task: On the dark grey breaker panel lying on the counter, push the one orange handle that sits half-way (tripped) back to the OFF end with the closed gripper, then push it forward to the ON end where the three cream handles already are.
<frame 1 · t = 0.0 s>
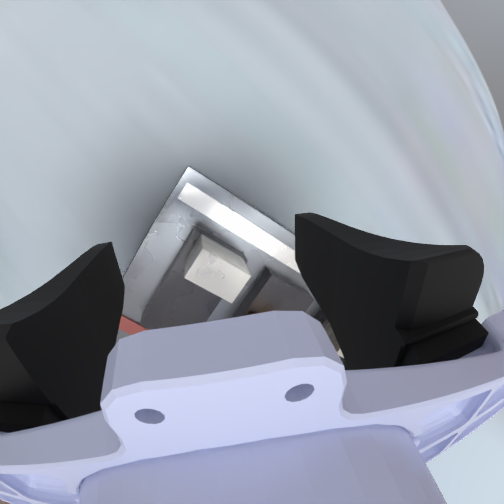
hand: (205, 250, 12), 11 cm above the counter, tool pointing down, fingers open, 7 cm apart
breaker panel: (260, 339, 26), on the counter
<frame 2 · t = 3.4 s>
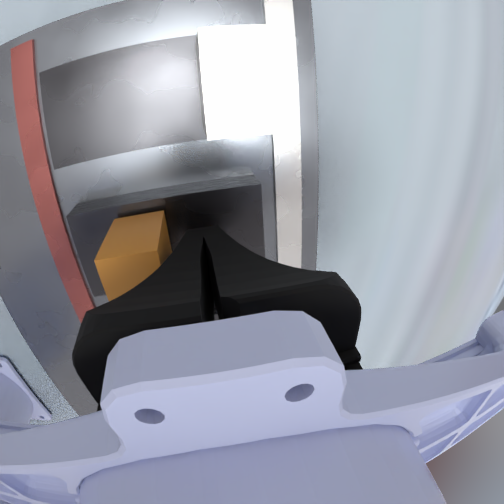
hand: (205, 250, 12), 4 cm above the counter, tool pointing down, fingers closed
tripped handle: (142, 272, 11), point 5 cm above the counter, slide at 2.2 cm, touching gripper
breaker panel: (139, 260, 16), on the counter
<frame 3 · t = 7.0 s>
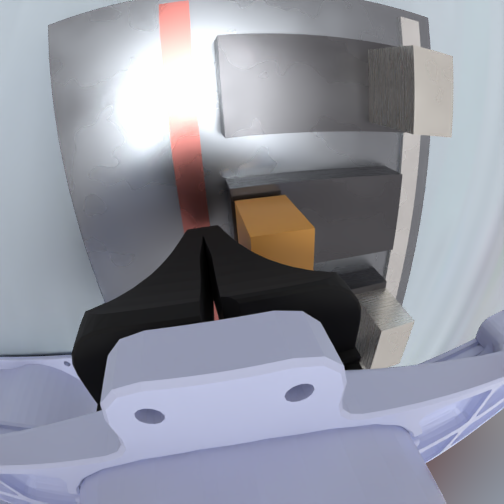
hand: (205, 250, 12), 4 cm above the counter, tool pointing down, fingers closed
tripped handle: (271, 253, 11), point 5 cm above the counter, slide at 0.1 cm, touching gripper
breaker panel: (267, 242, 17), on the counter
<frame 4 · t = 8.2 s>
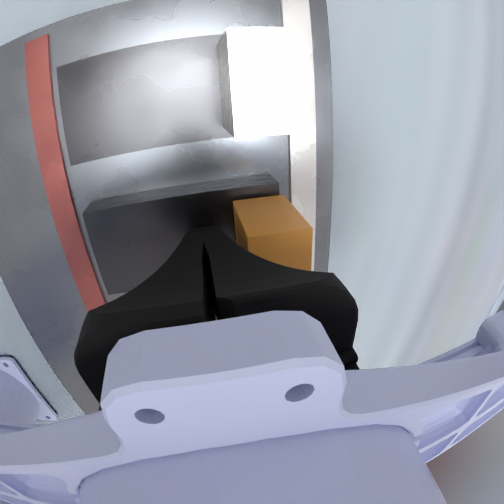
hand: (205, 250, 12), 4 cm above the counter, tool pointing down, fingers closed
tripped handle: (269, 253, 11), point 5 cm above the counter, slide at 6.1 cm, touching gripper
breaker panel: (153, 259, 16), on the counter
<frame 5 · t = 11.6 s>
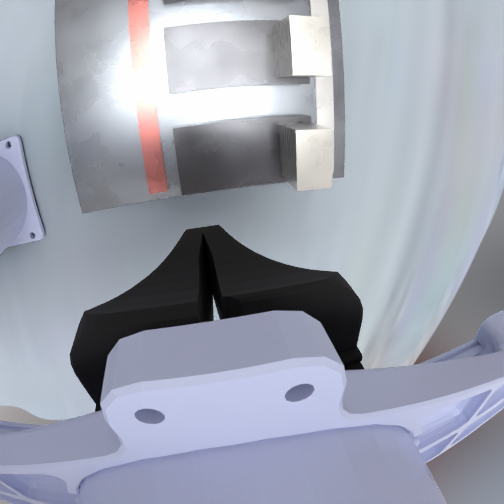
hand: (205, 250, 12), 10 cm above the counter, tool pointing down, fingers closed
breaker panel: (196, 5, 15), on the counter
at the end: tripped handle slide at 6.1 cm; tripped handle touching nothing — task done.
